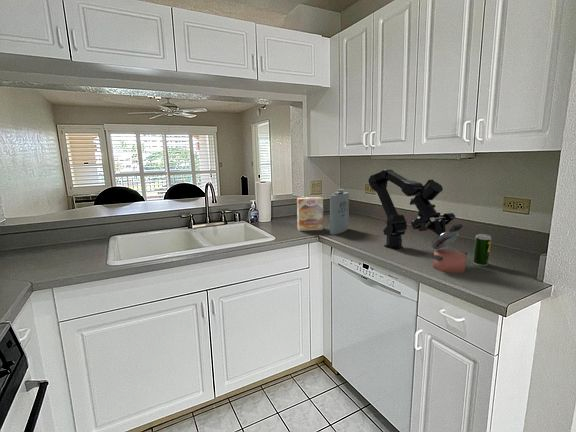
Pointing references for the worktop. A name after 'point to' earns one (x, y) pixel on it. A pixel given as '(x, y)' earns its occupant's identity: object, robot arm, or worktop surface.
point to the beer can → (482, 249)
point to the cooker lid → (447, 237)
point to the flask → (339, 212)
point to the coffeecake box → (310, 213)
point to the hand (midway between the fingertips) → (444, 238)
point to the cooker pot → (449, 260)
